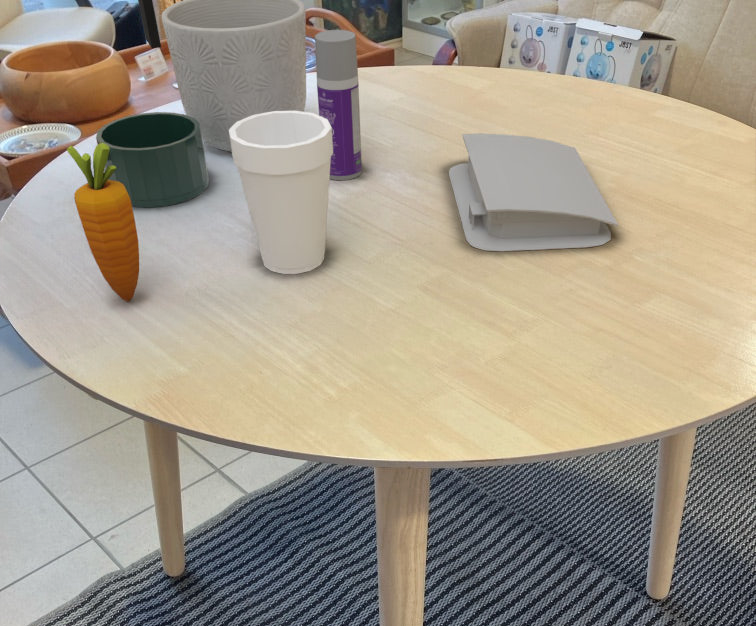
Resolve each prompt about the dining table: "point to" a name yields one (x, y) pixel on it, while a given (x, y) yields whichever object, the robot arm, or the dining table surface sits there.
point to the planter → (236, 60)
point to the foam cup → (286, 185)
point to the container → (340, 99)
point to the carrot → (108, 222)
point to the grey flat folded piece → (527, 195)
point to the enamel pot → (156, 157)
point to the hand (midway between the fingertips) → (68, 56)
